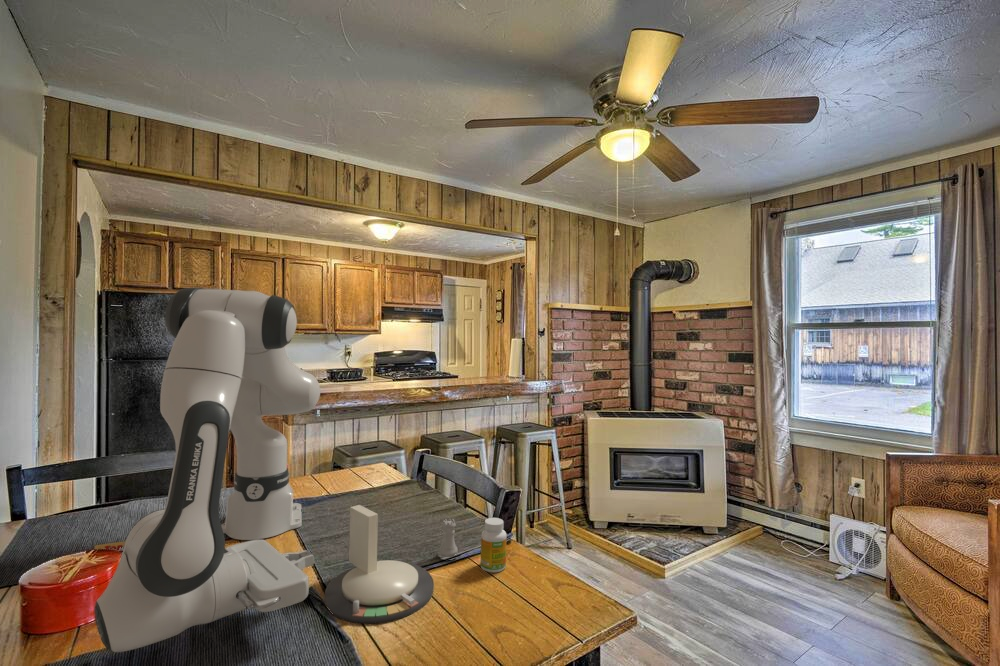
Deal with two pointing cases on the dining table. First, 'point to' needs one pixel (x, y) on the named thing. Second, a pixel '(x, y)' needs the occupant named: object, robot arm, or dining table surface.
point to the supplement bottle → (493, 546)
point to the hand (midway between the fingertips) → (310, 556)
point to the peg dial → (374, 566)
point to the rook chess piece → (448, 539)
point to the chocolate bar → (111, 545)
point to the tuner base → (377, 613)
